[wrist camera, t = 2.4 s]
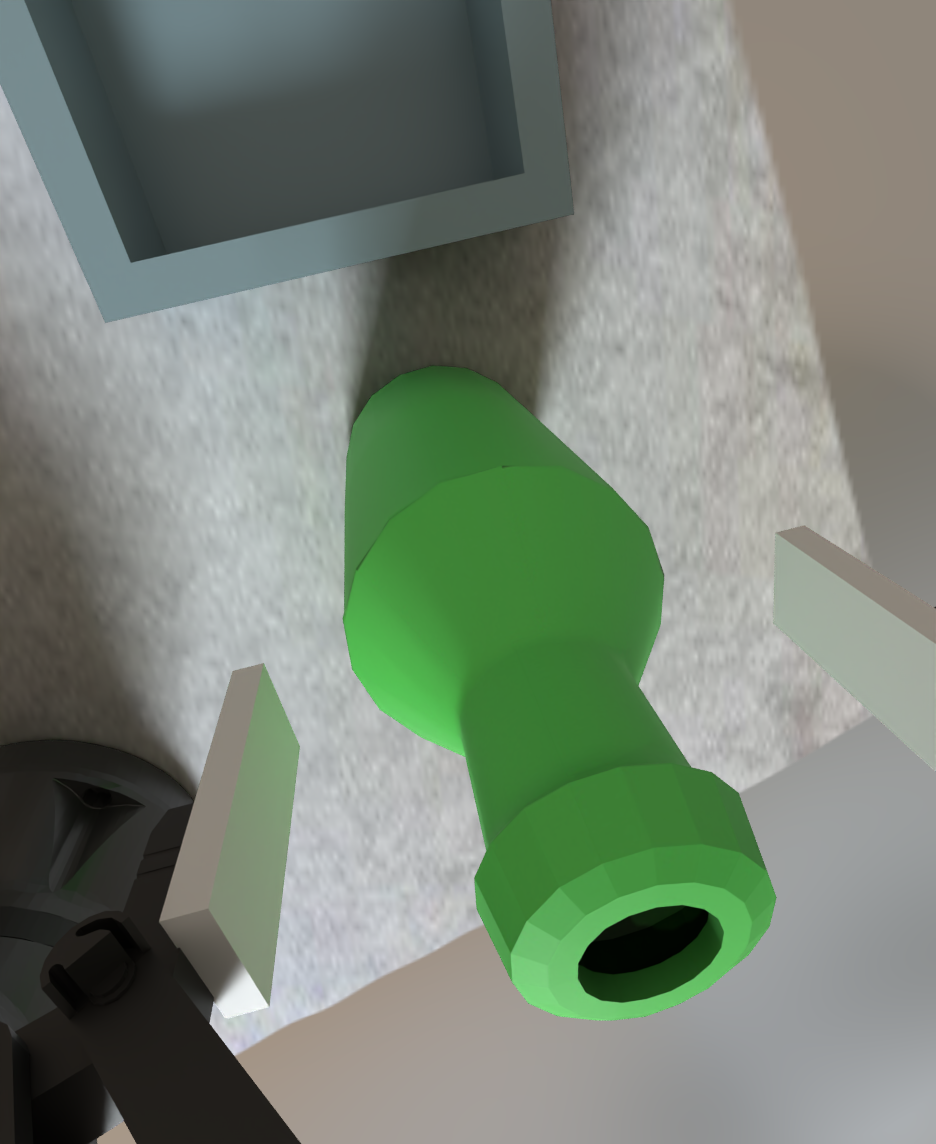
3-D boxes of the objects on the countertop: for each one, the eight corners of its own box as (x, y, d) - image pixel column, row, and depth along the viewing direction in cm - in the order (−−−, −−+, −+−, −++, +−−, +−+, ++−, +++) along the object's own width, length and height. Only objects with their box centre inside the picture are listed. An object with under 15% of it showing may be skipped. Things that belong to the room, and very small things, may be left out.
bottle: (507, 338, 29) (980, 616, 7) (544, 511, 34) (918, 1022, 11) (319, 393, 29) (222, 851, 7) (379, 560, 33) (435, 1181, 11)
